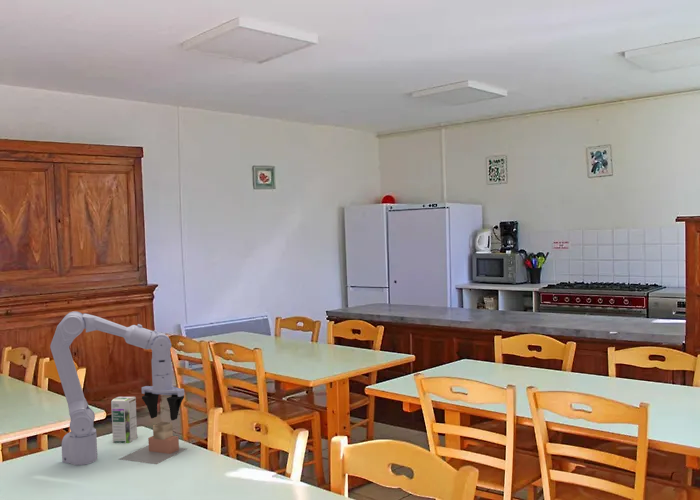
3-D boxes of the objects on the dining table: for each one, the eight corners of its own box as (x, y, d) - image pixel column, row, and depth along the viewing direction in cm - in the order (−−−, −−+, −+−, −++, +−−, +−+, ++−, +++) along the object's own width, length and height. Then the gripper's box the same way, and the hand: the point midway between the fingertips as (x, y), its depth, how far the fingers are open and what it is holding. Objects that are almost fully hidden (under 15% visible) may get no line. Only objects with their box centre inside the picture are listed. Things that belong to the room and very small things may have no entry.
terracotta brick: (148, 451, 198) (148, 437, 198) (157, 447, 202) (157, 434, 202) (170, 453, 195) (169, 440, 195) (179, 449, 199) (178, 436, 199)
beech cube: (153, 438, 197) (152, 425, 197) (162, 434, 201) (161, 421, 201) (164, 439, 196) (163, 426, 196) (172, 435, 199) (172, 422, 199)
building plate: (118, 462, 192) (118, 459, 192) (150, 447, 205) (150, 444, 205) (156, 467, 186) (156, 464, 186) (187, 451, 199) (187, 448, 199)
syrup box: (112, 446, 208) (110, 400, 207) (121, 440, 214) (119, 395, 213) (129, 446, 207) (127, 400, 206) (138, 440, 213) (136, 395, 212)
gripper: (189, 372, 199) (191, 416, 200) (151, 369, 205) (153, 413, 206) (174, 377, 193) (176, 423, 193) (135, 374, 199) (138, 419, 199)
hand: (163, 418), depth 199 cm, fingers open, 7 cm apart
